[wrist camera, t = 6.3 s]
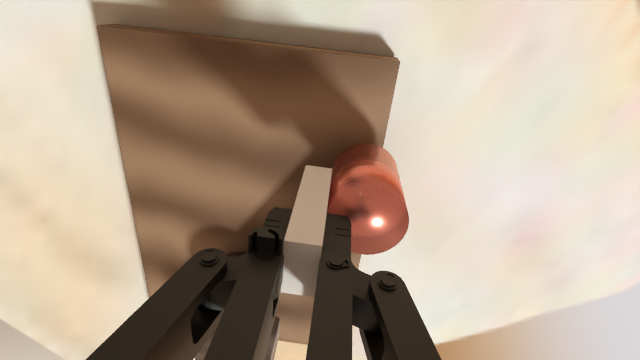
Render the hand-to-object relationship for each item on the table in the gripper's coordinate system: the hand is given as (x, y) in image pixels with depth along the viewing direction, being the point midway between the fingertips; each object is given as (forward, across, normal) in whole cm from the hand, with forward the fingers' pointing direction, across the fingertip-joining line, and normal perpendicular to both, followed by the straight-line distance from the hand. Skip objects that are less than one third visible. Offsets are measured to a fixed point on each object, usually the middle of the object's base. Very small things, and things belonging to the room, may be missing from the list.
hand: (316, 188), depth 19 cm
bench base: (+6, -5, -6) cm, 10 cm away
